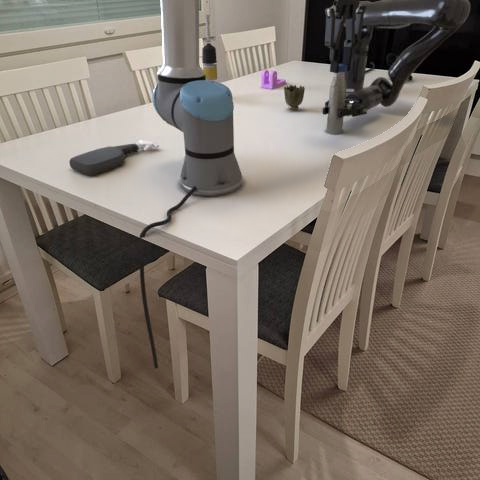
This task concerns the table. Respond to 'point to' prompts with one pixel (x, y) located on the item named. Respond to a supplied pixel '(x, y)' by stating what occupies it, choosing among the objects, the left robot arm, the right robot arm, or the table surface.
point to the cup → (294, 96)
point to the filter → (209, 56)
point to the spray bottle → (106, 157)
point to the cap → (342, 68)
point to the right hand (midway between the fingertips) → (331, 112)
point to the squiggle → (392, 61)
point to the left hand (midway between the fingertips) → (339, 71)
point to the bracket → (271, 80)
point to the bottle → (336, 103)
